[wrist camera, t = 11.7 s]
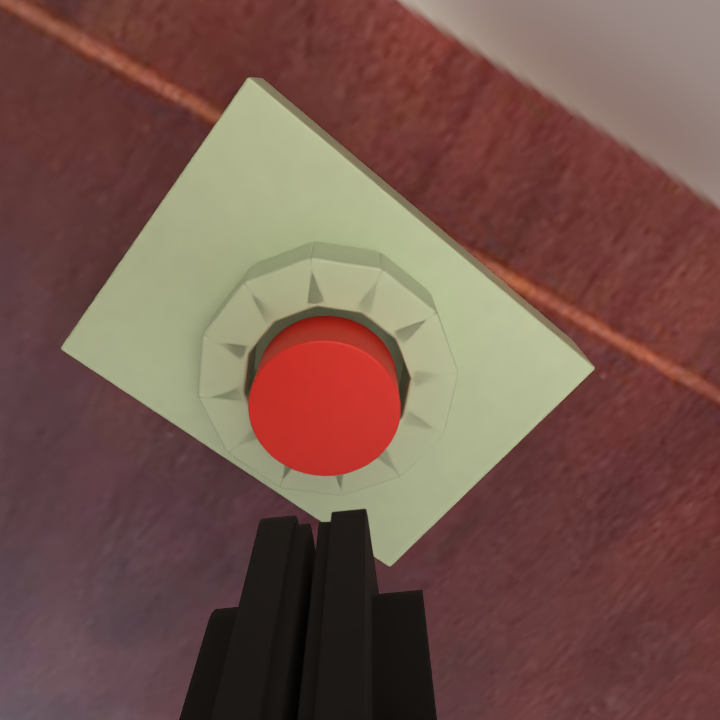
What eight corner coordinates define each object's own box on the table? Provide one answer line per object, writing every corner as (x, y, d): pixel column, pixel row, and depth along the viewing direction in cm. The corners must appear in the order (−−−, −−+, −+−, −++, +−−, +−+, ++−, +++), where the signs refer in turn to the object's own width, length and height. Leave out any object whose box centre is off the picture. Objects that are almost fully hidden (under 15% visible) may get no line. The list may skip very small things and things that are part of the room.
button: (230, 389, 18) (217, 421, 16) (315, 286, 16) (310, 309, 15) (338, 465, 18) (337, 502, 17) (425, 371, 17) (432, 401, 16)
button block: (88, 322, 21) (29, 375, 17) (260, 76, 18) (235, 75, 14) (387, 526, 24) (392, 608, 20) (573, 340, 21) (619, 397, 17)
